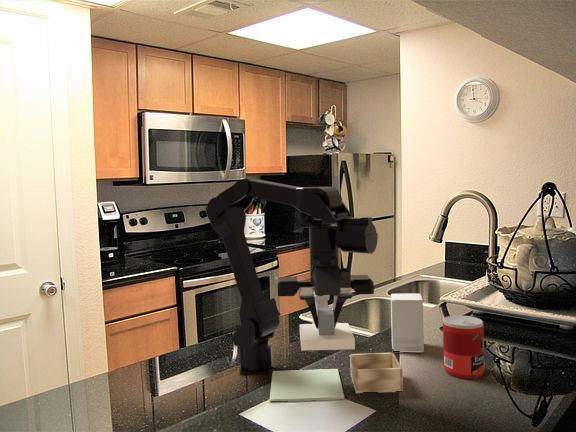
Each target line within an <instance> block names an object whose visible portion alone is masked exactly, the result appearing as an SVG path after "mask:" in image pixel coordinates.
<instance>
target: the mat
mask: <svg viewBox="0 0 576 432" xmlns="http://www.w3.org/2000/svg"><path fill="white" fill-rule="evenodd" d="M271 374H272V375H271V384H270V391H269V392H270V393H269V402H270V401H288V402H312V401H311V400H316V401H338V400H339V401H340V399H344V400H345V394H344V391H343V386H342V381H341V378H340V377H341V376H340V374H339V370H338V368H324V369H323V368H321V369H319V368H318V369H298V370H297V369H295V370H294V369H293V370H292V369H291V370H290V369H289V370H273V371H272V373H271Z"/></svg>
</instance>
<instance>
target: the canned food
mask: <svg viewBox="0 0 576 432" xmlns="http://www.w3.org/2000/svg"><path fill="white" fill-rule="evenodd" d="M484 332H485V330H484V321H483V320H482V319H480V318H478V317H475V316H471V315H457V314H456V315H448V316H445V317H444V318H443V320H442V336H443V337H442V344H443V367H444V370H445V373H447V374H448V373H449V374H450V375H449V374H448V375H449V376H451V375H452V377H454V376H455V377H454V378H458V377H459V378H458V379H466V380H471V379H473V380H474V379H478V378H481V377H482V376H483V374H484V372H485V347H484V346H485V343H484V342H485V341H484V340H485V339H484V335H485V333H484Z"/></svg>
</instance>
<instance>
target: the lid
mask: <svg viewBox="0 0 576 432" xmlns="http://www.w3.org/2000/svg"><path fill="white" fill-rule="evenodd" d="M317 317H318V328H316V326H315V324H312V323H303V324H302V323H301V324H299V339H300V349H301V352H302V351H332V350H333V351H335V350H336V351H337V350H355V349H356V348H355V347H356V338H355V336H354V334H353V332H352V329H351V327H350V325H349V323H348V322H339V323H337V324H336V327H335V328H334V313H333V307H332V308H331V307H329V308H317Z"/></svg>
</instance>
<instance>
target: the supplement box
mask: <svg viewBox="0 0 576 432" xmlns="http://www.w3.org/2000/svg"><path fill="white" fill-rule="evenodd" d="M390 316H391V317H390V321H391V322H390V324H391V325H390V326H391V328H390V329H391V346H392V347H391V350H392V349H393V350H394V351H424V352H425V342H424V341H425V339H424V338H425V336H424V300H423V297H422V294H421V293H391V294H390ZM393 350H392V351H393Z"/></svg>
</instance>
